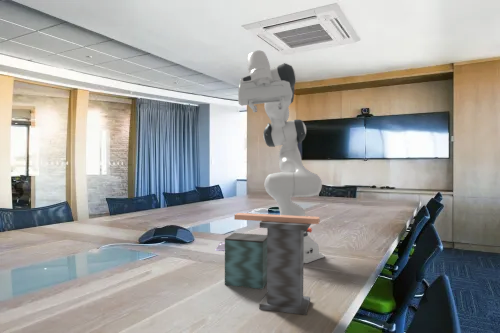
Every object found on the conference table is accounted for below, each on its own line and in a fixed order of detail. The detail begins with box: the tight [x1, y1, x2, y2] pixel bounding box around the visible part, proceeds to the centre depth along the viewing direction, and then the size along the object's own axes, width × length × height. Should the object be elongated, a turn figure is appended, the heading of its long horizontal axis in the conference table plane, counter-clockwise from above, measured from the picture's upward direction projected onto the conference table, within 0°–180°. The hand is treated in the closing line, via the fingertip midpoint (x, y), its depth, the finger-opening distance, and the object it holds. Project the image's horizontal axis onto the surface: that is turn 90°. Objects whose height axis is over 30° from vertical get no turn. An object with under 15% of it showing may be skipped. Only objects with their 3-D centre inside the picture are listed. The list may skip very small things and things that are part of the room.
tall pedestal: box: [258, 221, 312, 316], centre depth 108 cm, size 14×10×26 cm
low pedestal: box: [224, 232, 267, 290], centre depth 128 cm, size 14×10×17 cm
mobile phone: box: [215, 242, 225, 252], centre depth 179 cm, size 8×1×15 cm
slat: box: [233, 212, 321, 225], centre depth 108 cm, size 26×4×2 cm, turn 74°
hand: (268, 109), depth 127 cm, fingers open, 8 cm apart
